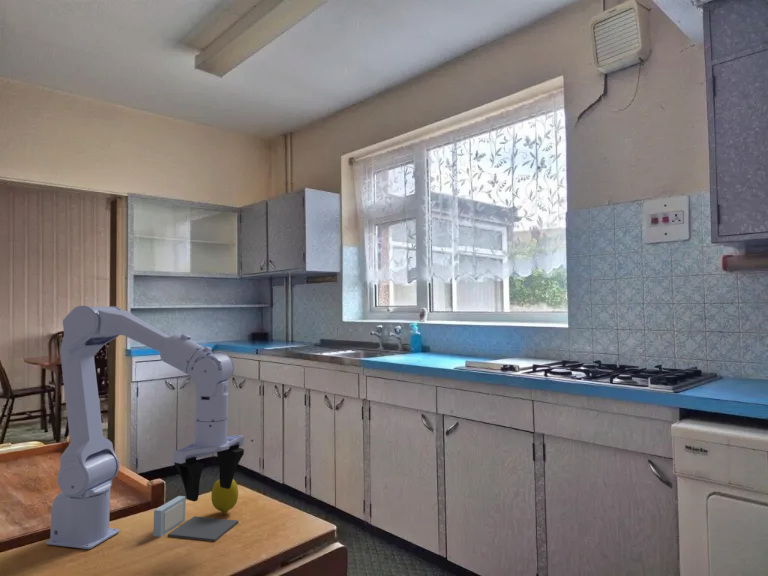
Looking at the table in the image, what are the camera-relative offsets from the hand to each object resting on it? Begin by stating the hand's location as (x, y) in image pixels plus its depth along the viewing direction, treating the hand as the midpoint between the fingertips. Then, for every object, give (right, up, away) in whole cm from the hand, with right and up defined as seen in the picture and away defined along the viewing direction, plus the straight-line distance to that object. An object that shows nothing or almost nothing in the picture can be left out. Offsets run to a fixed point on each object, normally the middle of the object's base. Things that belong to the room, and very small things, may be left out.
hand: (209, 493), depth 95 cm
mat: (-4, -10, +8) cm, 13 cm away
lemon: (-2, -11, +16) cm, 19 cm away
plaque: (-11, -10, +8) cm, 17 cm away
